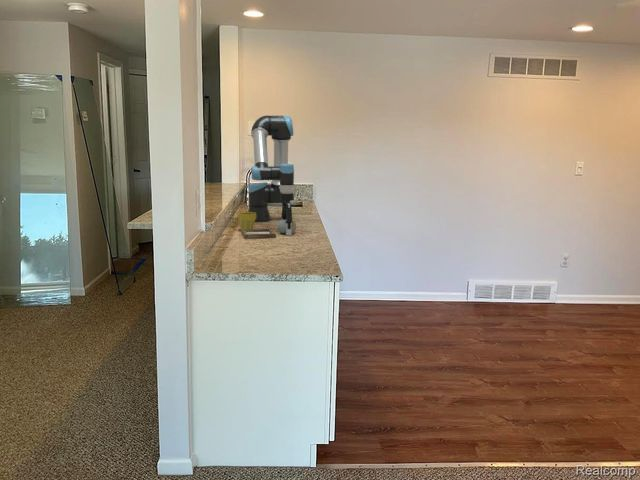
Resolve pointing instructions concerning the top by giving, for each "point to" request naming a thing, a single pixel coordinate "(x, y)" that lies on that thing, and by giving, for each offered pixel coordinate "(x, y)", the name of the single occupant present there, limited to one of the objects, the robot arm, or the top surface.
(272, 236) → the coaster tray
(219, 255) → the top surface
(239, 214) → the plant pot
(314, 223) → the top surface
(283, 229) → the ceramic mug
